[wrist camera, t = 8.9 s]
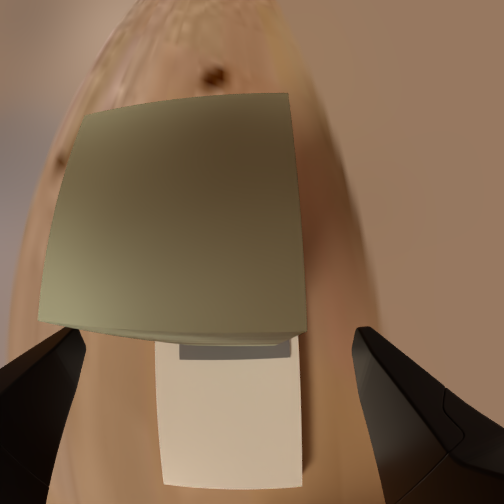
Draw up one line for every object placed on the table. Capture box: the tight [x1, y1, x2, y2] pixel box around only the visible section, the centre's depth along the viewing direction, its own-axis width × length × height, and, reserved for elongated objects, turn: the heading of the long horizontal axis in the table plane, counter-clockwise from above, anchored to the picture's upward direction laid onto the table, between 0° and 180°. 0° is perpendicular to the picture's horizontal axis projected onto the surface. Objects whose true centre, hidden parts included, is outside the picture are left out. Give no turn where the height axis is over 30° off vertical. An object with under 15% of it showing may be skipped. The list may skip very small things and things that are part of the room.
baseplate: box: [155, 336, 302, 489], centre depth 17 cm, size 16×8×1 cm, turn 2°
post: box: [38, 93, 307, 346], centre depth 11 cm, size 4×4×12 cm
